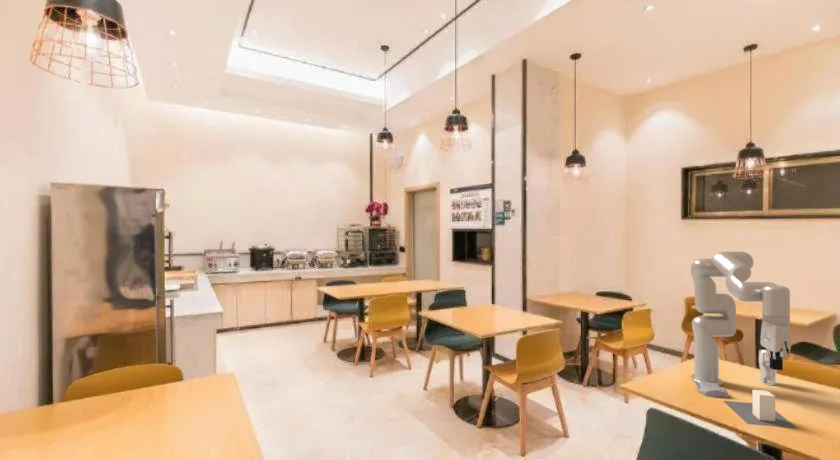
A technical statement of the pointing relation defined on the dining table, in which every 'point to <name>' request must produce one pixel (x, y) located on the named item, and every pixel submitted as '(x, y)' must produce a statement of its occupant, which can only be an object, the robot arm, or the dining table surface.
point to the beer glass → (766, 369)
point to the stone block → (711, 389)
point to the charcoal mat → (747, 415)
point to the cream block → (764, 405)
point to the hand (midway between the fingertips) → (776, 368)
